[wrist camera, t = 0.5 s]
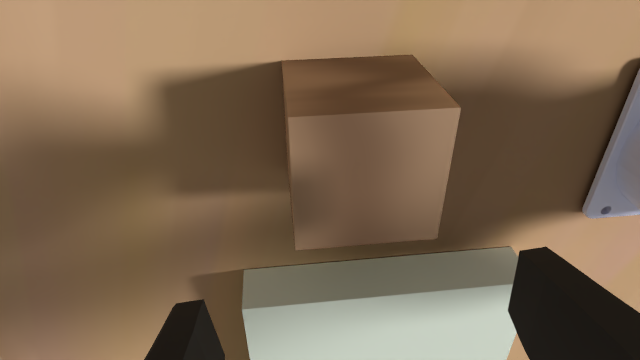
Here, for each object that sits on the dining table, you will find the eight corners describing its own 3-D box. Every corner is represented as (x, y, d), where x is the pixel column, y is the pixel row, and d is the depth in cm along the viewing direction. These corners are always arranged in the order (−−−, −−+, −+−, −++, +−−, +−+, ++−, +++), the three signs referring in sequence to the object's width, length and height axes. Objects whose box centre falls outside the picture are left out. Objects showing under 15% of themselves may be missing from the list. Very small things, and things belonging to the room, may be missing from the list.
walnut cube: (411, 54, 17) (461, 107, 13) (399, 165, 19) (437, 238, 15) (281, 60, 16) (288, 117, 12) (288, 172, 19) (295, 250, 15)
